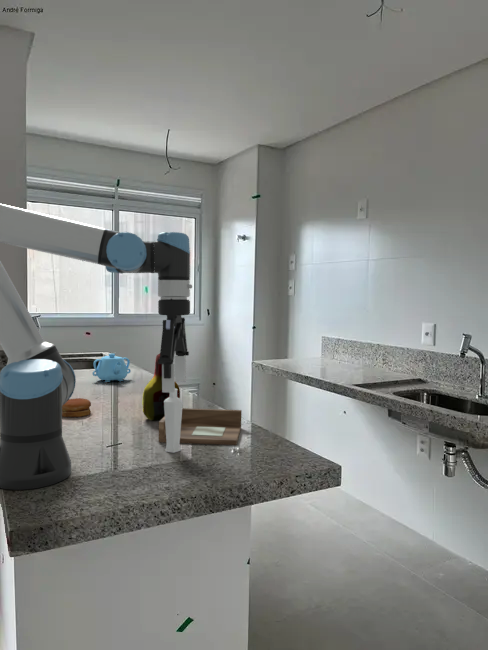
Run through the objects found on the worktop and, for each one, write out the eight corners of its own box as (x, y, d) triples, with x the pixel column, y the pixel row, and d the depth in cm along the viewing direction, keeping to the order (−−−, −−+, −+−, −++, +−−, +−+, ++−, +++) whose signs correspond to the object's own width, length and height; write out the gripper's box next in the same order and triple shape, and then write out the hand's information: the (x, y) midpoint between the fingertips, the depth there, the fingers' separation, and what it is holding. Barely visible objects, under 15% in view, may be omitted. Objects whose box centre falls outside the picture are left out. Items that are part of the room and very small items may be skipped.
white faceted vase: (164, 453, 117) (164, 391, 116) (162, 448, 121) (162, 387, 120) (183, 452, 118) (184, 390, 117) (181, 446, 122) (181, 387, 121)
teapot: (86, 379, 216) (86, 352, 216) (123, 376, 225) (123, 350, 225) (99, 386, 200) (99, 357, 199) (139, 383, 208) (139, 355, 208)
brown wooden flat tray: (236, 445, 125) (236, 424, 124) (158, 442, 126) (158, 422, 126) (241, 428, 140) (241, 410, 140) (172, 425, 142) (172, 407, 142)
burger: (91, 417, 151) (91, 402, 151) (59, 419, 148) (59, 403, 148) (90, 409, 160) (90, 395, 160) (60, 411, 157) (60, 397, 157)
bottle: (176, 413, 156) (176, 351, 155) (183, 418, 150) (184, 353, 149) (139, 418, 150) (139, 352, 149) (145, 423, 144) (146, 355, 143)
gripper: (179, 299, 105) (179, 397, 106) (198, 298, 130) (198, 377, 131) (144, 298, 105) (145, 397, 107) (170, 297, 130) (170, 377, 131)
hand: (174, 386), depth 119 cm, fingers open, 13 cm apart
